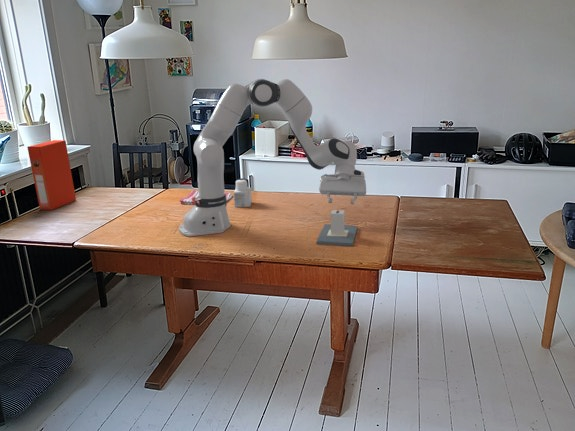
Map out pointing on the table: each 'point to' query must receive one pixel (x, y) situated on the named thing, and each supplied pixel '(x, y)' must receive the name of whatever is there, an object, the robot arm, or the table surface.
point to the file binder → (52, 174)
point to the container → (242, 193)
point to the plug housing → (337, 222)
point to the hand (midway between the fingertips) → (341, 203)
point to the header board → (337, 236)
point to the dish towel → (195, 194)
